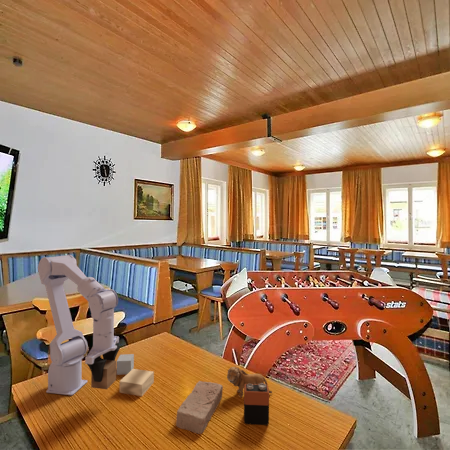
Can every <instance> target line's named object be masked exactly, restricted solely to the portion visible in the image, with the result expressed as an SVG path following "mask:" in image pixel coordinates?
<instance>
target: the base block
mask: <svg viewBox="0 0 450 450" xmlns="http://www.w3.org/2000/svg"><path fill="white" fill-rule="evenodd" d="M154 383H155V371H150V370H144V369H137V368H133V369H132V370H131V371H130V372H129V373H128V374H125V376H124V377H122V378H121V379H120V380H119V393H121V394H125V395H130V396H131V395H132V396H138V397H143V396H144V395H145V394H146V392H148V390H149V389H150V387H151V386H152V385H153V384H154Z"/></svg>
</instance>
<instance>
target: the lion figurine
mask: <svg viewBox="0 0 450 450" xmlns="http://www.w3.org/2000/svg"><path fill="white" fill-rule="evenodd" d="M226 378H227V381H228V382H229V383H230V384H232V385H233V386H234V387H238V388H237V389H236V392H237V393H239V394H238V395H237V396H238V398H242V397H243V396H244V385H245V384H260V383H263V384H266V385H268V386H269V384H268V381H267V379H266V377H265V376H264V375H262V374H261V373H247V372H246V371H245V370H243V369H241V368H240V367H237V366H231V367H229V368H228V369H227V376H226ZM268 390H269V394H273V391H272V390H270V389H269V387H268Z"/></svg>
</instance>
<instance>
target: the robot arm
mask: <svg viewBox="0 0 450 450" xmlns="http://www.w3.org/2000/svg"><path fill="white" fill-rule="evenodd" d="M77 263H78V261H77V258H75V257H74V255H72V254H64V255H57V256H48V257H47V256H44V257H42V258H40V260H39V262H38V265H37V271H38V276H39V279H40V283H41V285H44V286H45V291H46V295H47V298H48V302H49V308H50V311H51V315H52V320H53V323H54V328H55V331H56V335H55V336H54V338H53V339H51V342H49V349H50V351H49V357H50V361H51V363H50V365H49V367H48V371H47V390H46V393H47V394H58V395H65V396H67V395H68V396H73V395H74V394H76V392H78V391H79V390H80V389H81V388H83V386H84V385H86V384H87V383H88V379H82V377H83V376H82V373H83V371H82V368H83V367H82V361H83V360H82V359H85V362H84V364H85V365H87V366H88V367H89V370H90V373H91V372H92V375H93V379H94V382H101V381H102V378H103V370H104V365H105V362H106V360H113V361H116V358H117V356H118V353H119V350H120V348H121V347H120V345H116V344H119V343H120V337H119V336H117V335H114V333H115V327H114V326H115V321H114V320H115V314H114V313H115V308H116V307H118V304H119V296H118V294H117V292H115V290H114V289H112V288H111V289H109V288H105V287H104V286H103V285H102V284H100V283H99V282H98V281H97V280H96V279H95V278H94V277H92V276H88V277H87V276H86V274H85V273H84V272H83V271H82V270H81V269H80V268H79V266H78V265H77ZM68 279H69V280H71V282H73V284H75V285H76V286H77V288H76V289H77V292H78V293H79V294H80V295H81V296H82V297H83V298H84V299H85V300H86V301H87V303H88V307H89V311H90V313H91V314H90V316H91V319H92V321H93V322H92V325H93V326H92V347H91V349H90V350H89V352H88V354H87V355H86V353H87V351H88V341H87V339H86V338H85V337H84V334H83V331H81V330H79V329H77V328H75V326H74V323H73V320H72V315H71V311H70V306H69V303H68V299H67V296H66V292H65V291H66V290H65V287H64V283H65V282H66V281H67V280H68ZM84 355H86V356H85V358H84Z"/></svg>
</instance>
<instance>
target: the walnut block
mask: <svg viewBox="0 0 450 450" xmlns="http://www.w3.org/2000/svg"><path fill="white" fill-rule="evenodd" d="M90 373H91V374H90V375H91V378H90V379H91V382H90V383H91V387H90V388H93V389H101V390H108V389H109V388H110V387H111V386H112V385H113V384H114V383H115V382H116V380H117V360H115V361H113V360H106V362H105V365H104V370H103V378H102V381H101V382H94V379H93V375H92V372H91V371H90Z"/></svg>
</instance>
